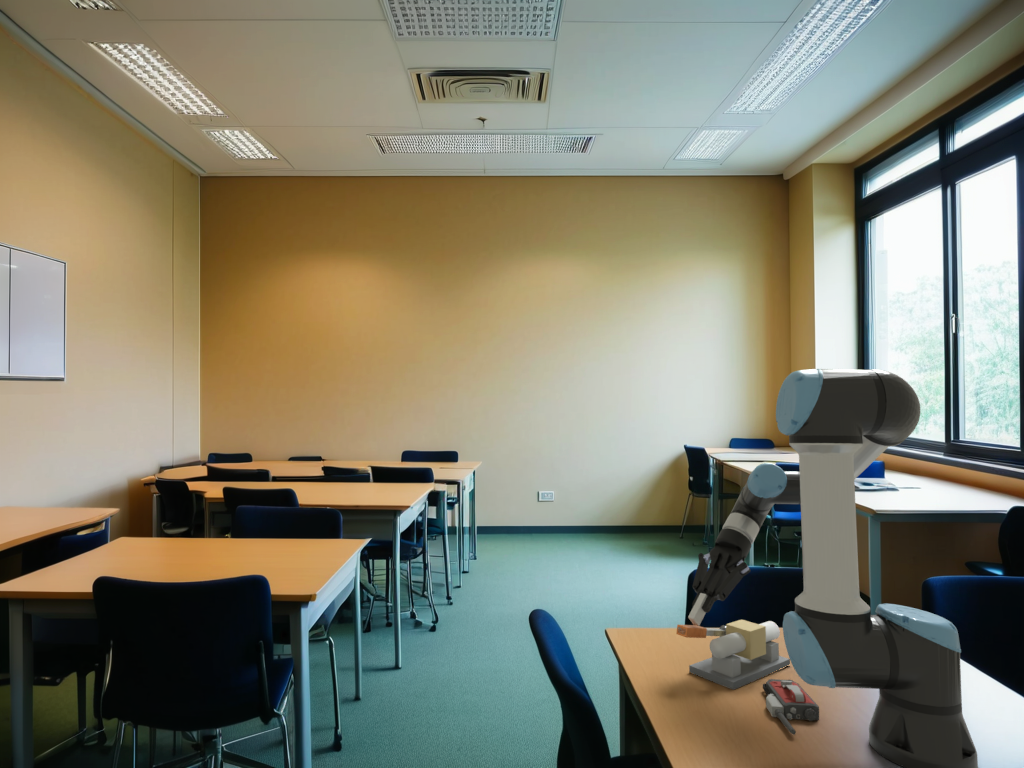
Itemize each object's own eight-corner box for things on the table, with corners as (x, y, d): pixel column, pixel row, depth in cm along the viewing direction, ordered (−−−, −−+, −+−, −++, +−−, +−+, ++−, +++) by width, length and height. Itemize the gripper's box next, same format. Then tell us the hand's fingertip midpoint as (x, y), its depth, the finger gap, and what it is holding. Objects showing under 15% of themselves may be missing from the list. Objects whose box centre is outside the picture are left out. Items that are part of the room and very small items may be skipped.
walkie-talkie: (752, 691, 127) (787, 740, 107) (752, 669, 127) (786, 714, 107) (796, 693, 126) (839, 743, 106) (795, 671, 126) (838, 717, 106)
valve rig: (746, 651, 148) (745, 609, 149) (790, 665, 139) (789, 621, 140) (689, 672, 135) (688, 626, 136) (733, 689, 126) (732, 640, 127)
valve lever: (724, 624, 143) (677, 622, 133) (734, 627, 141) (687, 625, 131) (723, 637, 142) (676, 636, 133) (733, 640, 140) (685, 639, 130)
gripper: (768, 551, 141) (726, 640, 131) (719, 542, 152) (677, 623, 141) (755, 531, 139) (711, 619, 128) (706, 523, 149) (662, 604, 138)
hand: (693, 621), depth 134 cm, fingers closed
